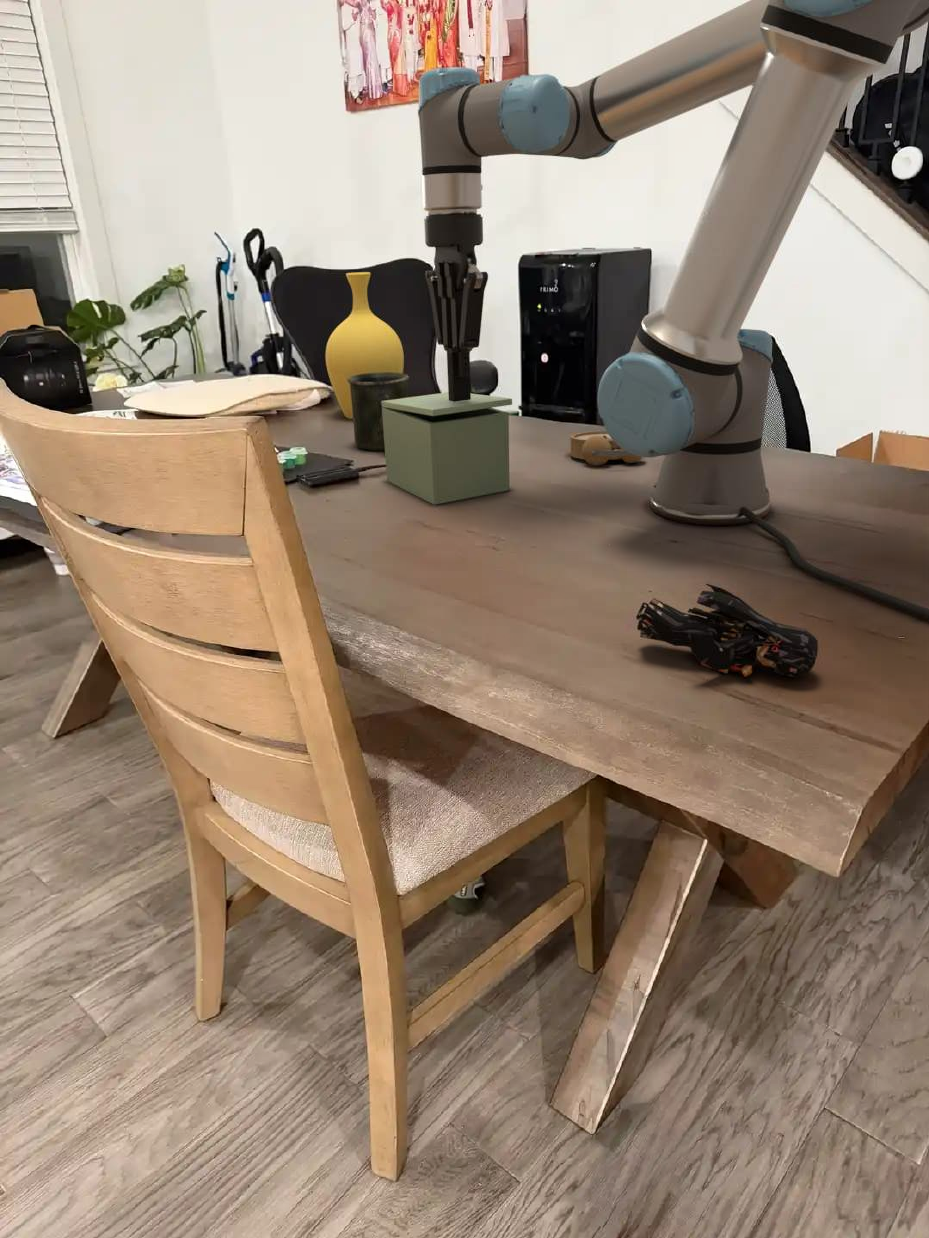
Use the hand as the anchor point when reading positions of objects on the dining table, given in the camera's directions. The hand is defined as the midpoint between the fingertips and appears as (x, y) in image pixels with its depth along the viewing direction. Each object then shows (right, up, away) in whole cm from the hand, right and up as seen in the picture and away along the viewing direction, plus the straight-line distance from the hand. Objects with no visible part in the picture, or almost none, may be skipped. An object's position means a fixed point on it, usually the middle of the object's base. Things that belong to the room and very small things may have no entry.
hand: (459, 399), depth 118 cm
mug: (-14, 0, +34) cm, 37 cm away
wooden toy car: (+24, -5, +21) cm, 32 cm away
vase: (-20, +13, +61) cm, 66 cm away
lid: (-2, 0, +4) cm, 5 cm away
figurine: (+23, -35, -45) cm, 61 cm away
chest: (-2, -10, +10) cm, 14 cm away
